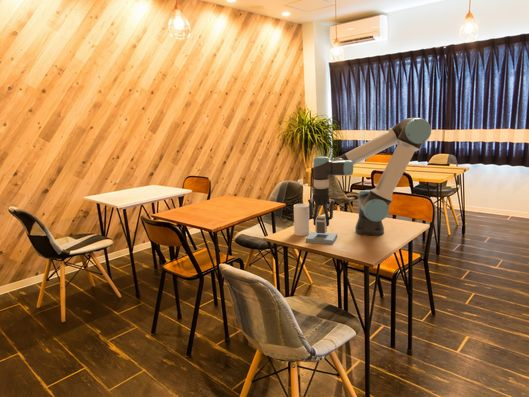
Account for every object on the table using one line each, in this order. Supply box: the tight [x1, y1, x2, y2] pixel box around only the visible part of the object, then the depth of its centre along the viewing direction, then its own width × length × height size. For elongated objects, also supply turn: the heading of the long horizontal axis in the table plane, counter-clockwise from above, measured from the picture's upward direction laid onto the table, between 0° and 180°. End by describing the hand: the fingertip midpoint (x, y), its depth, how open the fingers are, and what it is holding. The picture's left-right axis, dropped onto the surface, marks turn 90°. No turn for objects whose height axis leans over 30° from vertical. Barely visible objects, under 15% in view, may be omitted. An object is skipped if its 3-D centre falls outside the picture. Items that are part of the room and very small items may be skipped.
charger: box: [316, 215, 326, 233], centre depth 202 cm, size 4×4×8 cm
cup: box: [293, 203, 310, 237], centre depth 214 cm, size 8×8×16 cm
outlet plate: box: [305, 231, 338, 245], centre depth 204 cm, size 14×12×2 cm
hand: (321, 231), depth 203 cm, fingers closed on charger, 4 cm apart
